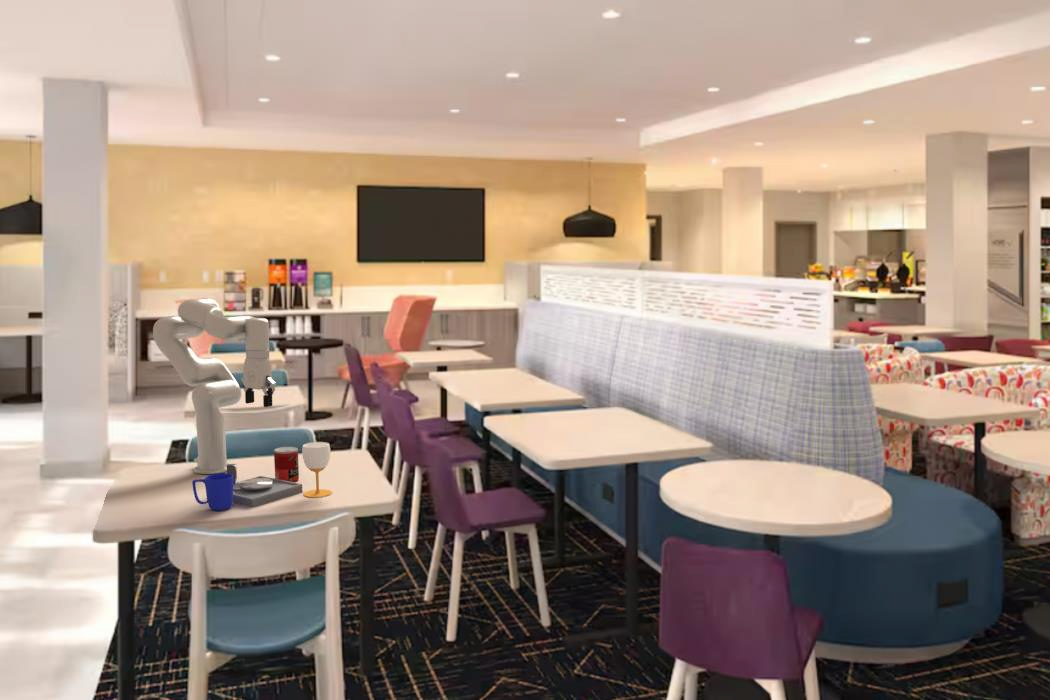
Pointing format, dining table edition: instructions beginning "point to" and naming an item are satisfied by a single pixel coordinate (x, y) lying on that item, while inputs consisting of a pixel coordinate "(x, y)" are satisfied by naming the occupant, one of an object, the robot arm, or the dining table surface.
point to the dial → (248, 484)
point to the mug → (217, 491)
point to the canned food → (286, 464)
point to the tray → (265, 492)
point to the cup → (316, 464)
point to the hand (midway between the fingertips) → (258, 404)
